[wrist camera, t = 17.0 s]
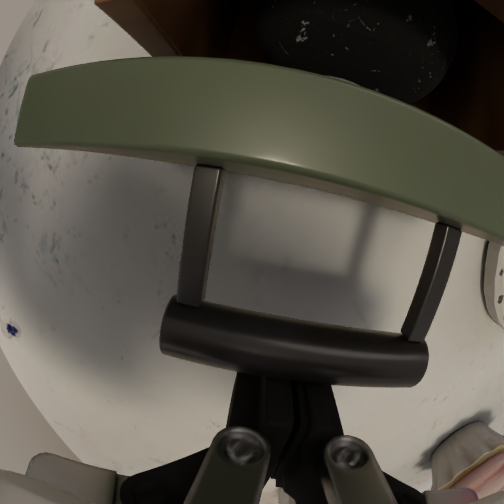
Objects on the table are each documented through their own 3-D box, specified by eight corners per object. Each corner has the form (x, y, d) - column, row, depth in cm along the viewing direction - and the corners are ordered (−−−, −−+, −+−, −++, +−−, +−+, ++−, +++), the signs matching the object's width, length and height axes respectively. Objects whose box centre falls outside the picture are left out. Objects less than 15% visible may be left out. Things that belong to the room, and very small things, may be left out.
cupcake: (478, 397, 14) (531, 474, 5) (501, 417, 15) (539, 474, 6) (398, 465, 17) (424, 548, 7) (438, 473, 17) (462, 534, 8)
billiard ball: (409, 32, 8) (479, -32, 2) (392, 147, 9) (501, 126, 3) (277, -12, 8) (279, -110, 2) (238, 98, 9) (203, 8, 3)
